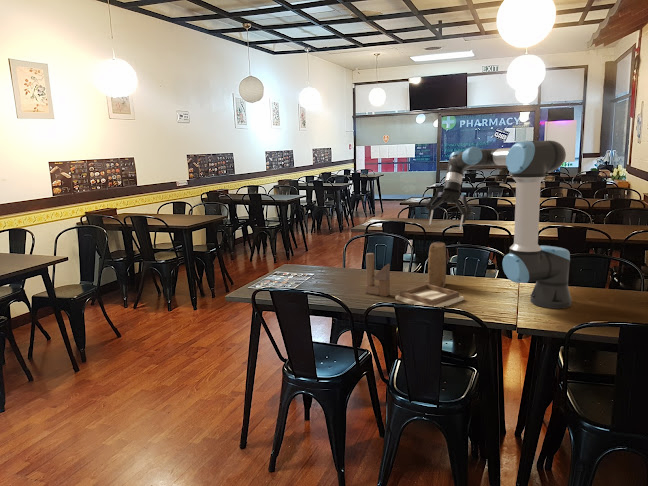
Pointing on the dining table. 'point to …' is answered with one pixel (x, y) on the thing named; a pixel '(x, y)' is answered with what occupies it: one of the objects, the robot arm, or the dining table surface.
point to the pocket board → (429, 296)
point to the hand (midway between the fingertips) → (444, 226)
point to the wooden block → (382, 276)
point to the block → (437, 264)
